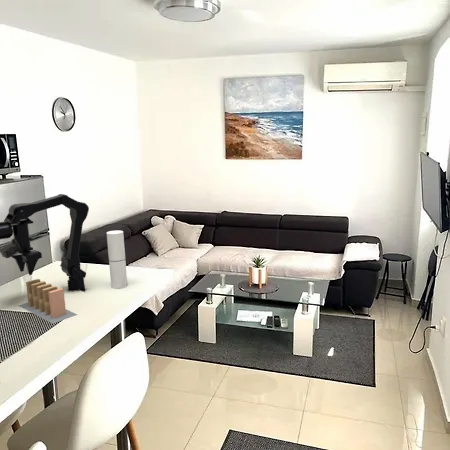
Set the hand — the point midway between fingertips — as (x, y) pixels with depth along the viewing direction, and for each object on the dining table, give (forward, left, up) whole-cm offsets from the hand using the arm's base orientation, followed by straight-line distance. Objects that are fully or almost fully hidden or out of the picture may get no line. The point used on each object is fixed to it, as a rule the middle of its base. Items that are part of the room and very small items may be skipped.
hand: (26, 273), depth 178 cm
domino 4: (-9, +16, -12) cm, 22 cm away
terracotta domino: (-12, +20, -12) cm, 26 cm away
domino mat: (-7, +12, -13) cm, 19 cm away
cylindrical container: (-37, -7, -13) cm, 40 cm away
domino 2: (-5, +8, -12) cm, 16 cm away
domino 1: (-3, +5, -12) cm, 13 cm away
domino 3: (-7, +12, -12) cm, 19 cm away
